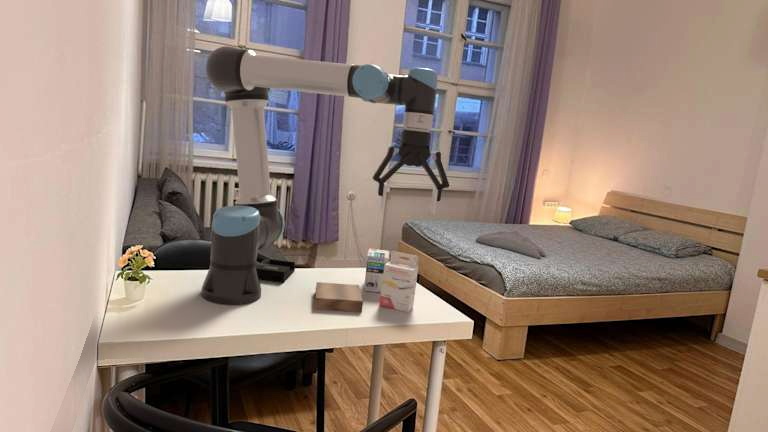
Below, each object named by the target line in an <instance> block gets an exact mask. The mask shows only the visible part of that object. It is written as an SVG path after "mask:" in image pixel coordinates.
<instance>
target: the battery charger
mask: <svg viewBox="0 0 768 432" xmlns="http://www.w3.org/2000/svg"><path fill="white" fill-rule="evenodd" d="M295 268H296V262H295V261H290V260H280V259H275V258H264V259H263V260H261V262H259V263H258V264H256V270H257V274H258V278H259V281H265V282H272V283H279V284H284V283H285V282H286V281H287V280H288V279H289V278H290V277H291V276H292V275H293V274H294V273H295V271H296V269H295Z"/></svg>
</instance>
